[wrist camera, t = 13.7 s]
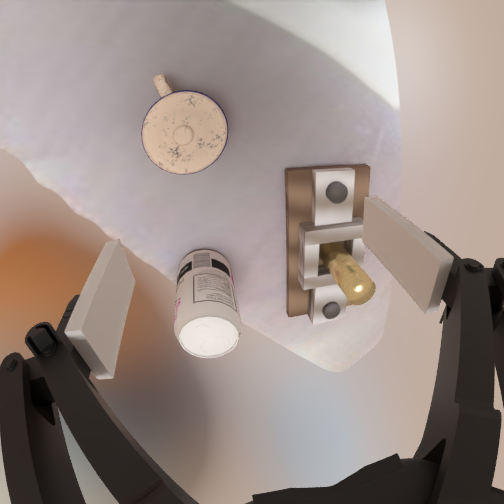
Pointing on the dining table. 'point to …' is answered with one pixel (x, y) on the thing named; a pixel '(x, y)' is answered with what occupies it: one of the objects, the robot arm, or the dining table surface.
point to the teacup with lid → (183, 130)
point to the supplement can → (206, 305)
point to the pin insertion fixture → (322, 234)
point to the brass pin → (347, 273)
